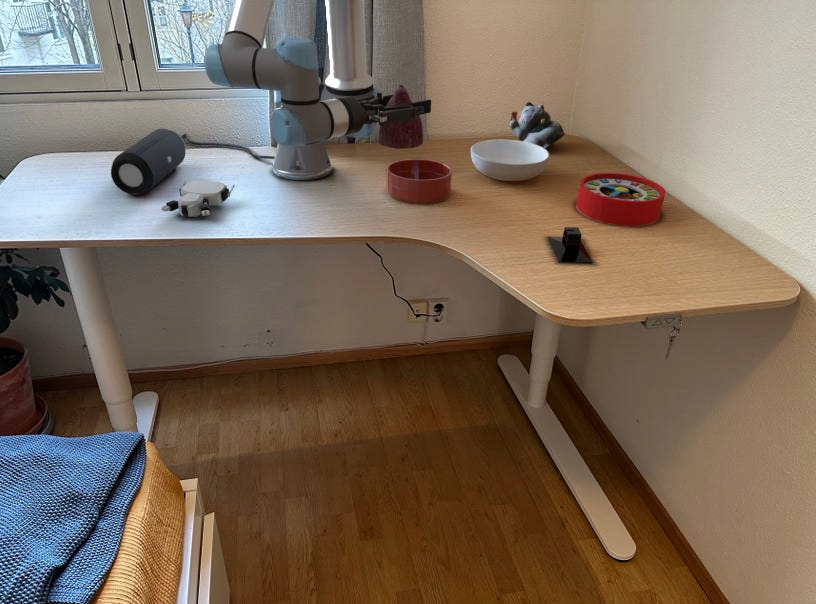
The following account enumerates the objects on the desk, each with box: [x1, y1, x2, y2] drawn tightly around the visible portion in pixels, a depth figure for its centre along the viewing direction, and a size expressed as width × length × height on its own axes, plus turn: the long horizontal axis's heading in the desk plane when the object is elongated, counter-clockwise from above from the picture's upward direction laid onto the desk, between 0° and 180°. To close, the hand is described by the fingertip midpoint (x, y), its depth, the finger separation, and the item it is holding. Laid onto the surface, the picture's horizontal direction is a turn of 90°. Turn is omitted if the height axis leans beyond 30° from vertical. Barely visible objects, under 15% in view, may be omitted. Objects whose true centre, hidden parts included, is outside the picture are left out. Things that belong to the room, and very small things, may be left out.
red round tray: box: [385, 158, 453, 205], centre depth 163 cm, size 16×16×6 cm
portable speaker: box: [110, 128, 186, 195], centre depth 163 cm, size 26×10×10 cm, turn 176°
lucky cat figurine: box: [509, 101, 566, 150], centre depth 199 cm, size 15×12×14 cm
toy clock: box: [575, 172, 666, 227], centre depth 159 cm, size 20×6×20 cm
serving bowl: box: [470, 138, 550, 182], centre depth 176 cm, size 21×21×7 cm
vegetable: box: [377, 83, 424, 150], centre depth 149 cm, size 10×10×15 cm
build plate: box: [547, 226, 594, 265], centre depth 139 cm, size 12×7×5 cm, turn 1°
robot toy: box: [160, 179, 236, 217], centre depth 150 cm, size 12×4×15 cm
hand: (417, 102), depth 152 cm, fingers closed on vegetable, 8 cm apart
